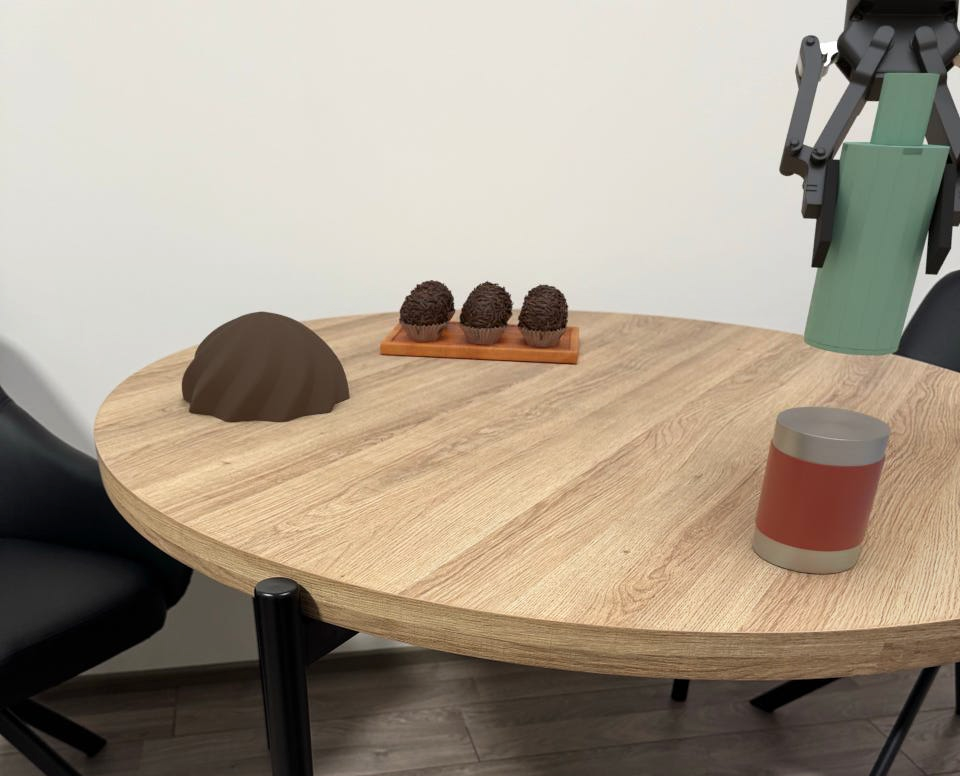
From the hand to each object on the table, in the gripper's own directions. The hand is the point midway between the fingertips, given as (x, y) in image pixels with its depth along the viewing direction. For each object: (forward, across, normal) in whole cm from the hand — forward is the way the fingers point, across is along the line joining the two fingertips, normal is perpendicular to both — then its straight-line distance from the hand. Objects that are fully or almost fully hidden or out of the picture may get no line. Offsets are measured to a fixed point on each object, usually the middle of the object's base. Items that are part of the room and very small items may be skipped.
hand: (878, 257), depth 61 cm
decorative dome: (-5, +61, -39) cm, 72 cm away
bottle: (+2, 0, -7) cm, 7 cm away
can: (+14, 0, -19) cm, 24 cm away
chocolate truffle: (-29, +41, -63) cm, 81 cm away
